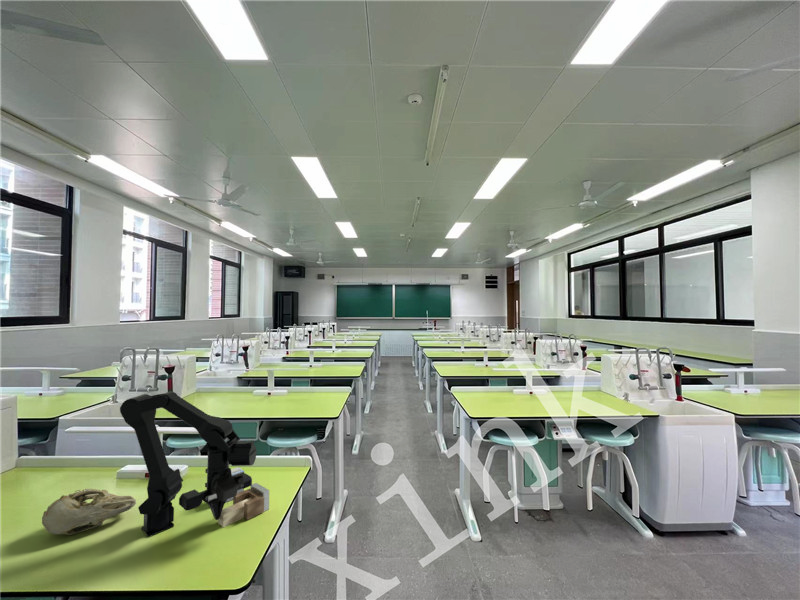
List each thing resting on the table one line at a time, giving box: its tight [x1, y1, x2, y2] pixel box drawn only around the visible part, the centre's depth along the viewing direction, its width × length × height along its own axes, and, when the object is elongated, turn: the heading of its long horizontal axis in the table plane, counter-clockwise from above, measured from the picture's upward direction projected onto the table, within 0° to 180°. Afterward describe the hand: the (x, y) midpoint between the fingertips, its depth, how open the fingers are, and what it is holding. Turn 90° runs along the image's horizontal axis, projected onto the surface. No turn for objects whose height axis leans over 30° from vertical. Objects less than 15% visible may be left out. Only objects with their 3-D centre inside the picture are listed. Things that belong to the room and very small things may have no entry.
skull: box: [41, 488, 137, 536], centre depth 102 cm, size 11×20×15 cm
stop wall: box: [250, 482, 270, 512], centre depth 112 cm, size 2×8×6 cm, turn 52°
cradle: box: [232, 487, 265, 520], centre depth 109 cm, size 6×9×4 cm, turn 52°
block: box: [217, 498, 252, 528], centre depth 106 cm, size 10×4×4 cm, turn 141°
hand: (216, 519), depth 102 cm, fingers closed
